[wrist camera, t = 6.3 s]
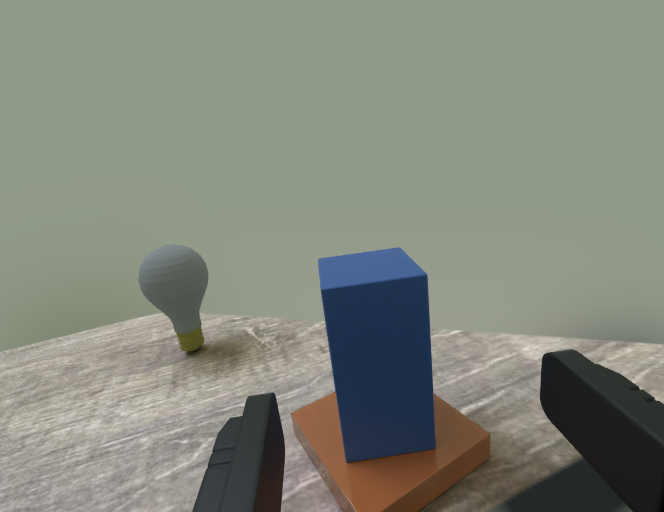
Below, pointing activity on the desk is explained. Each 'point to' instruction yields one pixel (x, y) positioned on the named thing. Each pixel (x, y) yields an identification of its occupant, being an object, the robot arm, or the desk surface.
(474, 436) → the orange-brown square slab
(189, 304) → the light bulb
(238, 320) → the desk surface
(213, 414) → the desk surface
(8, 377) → the desk surface
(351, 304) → the block
